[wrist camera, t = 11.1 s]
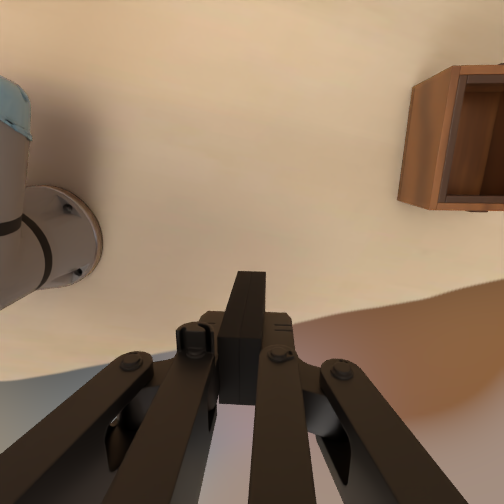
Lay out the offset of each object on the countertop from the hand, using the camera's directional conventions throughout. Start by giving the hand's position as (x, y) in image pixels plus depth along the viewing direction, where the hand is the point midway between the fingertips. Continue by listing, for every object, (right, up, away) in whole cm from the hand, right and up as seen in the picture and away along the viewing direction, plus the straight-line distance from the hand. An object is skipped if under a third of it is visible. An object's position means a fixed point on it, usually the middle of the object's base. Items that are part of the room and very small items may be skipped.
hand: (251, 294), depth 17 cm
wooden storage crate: (+20, +15, +19) cm, 31 cm away
